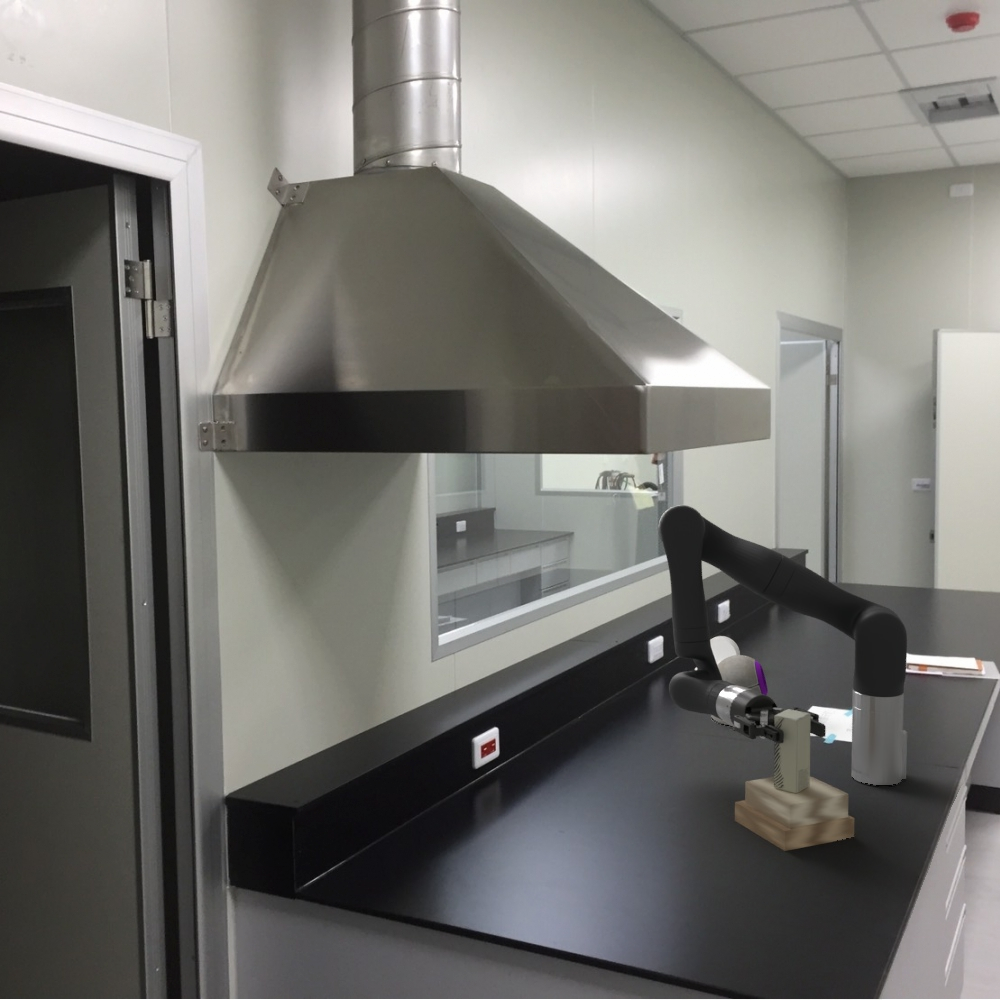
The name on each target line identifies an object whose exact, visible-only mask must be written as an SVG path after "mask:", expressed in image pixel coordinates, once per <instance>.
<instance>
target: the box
mask: <svg viewBox="0 0 1000 1000" xmlns="http://www.w3.org/2000/svg"><path fill="white" fill-rule="evenodd" d="M784 710H785V711H783V712H781V713H779V714H777V715H775V716H774V719H775V727H776V728H778V729H781V730H783V732H784V742H783V743H780V744H778V743H776V742H774V741H773V742H774V743H773V744H774V747H773V749H774V751H773V777H774V788H777V789H781V790H784V791H788V792H791V793H798V792H800V791H802V790H803V789H805V788H807V787H808V786H810V776H811V733H810V715H811V714H810V713H806V712H801V711H796V710H793V709H789V708H788V709H784Z"/></svg>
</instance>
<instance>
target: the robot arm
mask: <svg viewBox="0 0 1000 1000" xmlns="http://www.w3.org/2000/svg"><path fill="white" fill-rule="evenodd" d="M657 528H658V529H657V531H658V536H659V538H660V540H661V542H662V544H663V549H664V552H665V556H666V559H667V567H668V571H669V579H670V591H671V592H670V593H671V595H670V596H671V621H672V633H673V642H674V643H673V644H674V651H675V652H674V653H675V654H676V656H677V657H678V658H680V659H686V660H692V661H693V662H694V664H695V666H696V667H697V670H695V669H694V670H689V671H682V672H681V671H680V672H678V673H676V674H675V675H673V676H672V678H671V679H670V680H669V681H670V682H669V684H668V693H669V696H670V699H671V700H672V701H673V703H674V704H675V705H676V706H677V707H678V708H680V709H682V710H685V711H688V712H692V713H698V714H705V715H710V716H711V715H713V716H715V717H717V718H719V719H721V720H723V721H725V722H726V723H728V724H729V725H731V726H733V727H732V728H733V731H736V732H737V733H739V734H741V735H742V736H744V737H746V738H748V739H750V740H756V739H757V737H759V738H760V739H762V740H766V739H768V740H770V741H772V742H776V743H778V744H780V743H783V742H784V732H783V730H781V729H778V728H776V727H775V719H774V716H775V715H777V714H779V713H781V712H783V711H785V710H786V709H784V708H783V707H778V706H777V704H776V702H775V701H774V699H772V697H770V696H768V695H767V696H766V695H764V694H761V693H758V692H756V691H753V690H751V689H748V688H746V687H742V686H737V685H735V684H732V683H730V682H727V681H723V679H722V676H721V673H720V671H719V668H718V666H717V663H716V660H715V657H714V654H713V652H712V648H711V643H710V640H711V634H710V623H709V615H708V608H707V607H708V606H707V601H706V595H705V589H704V582H703V580H704V579H703V562H704V563H706V564H708V565H711V566H713V567H715V568H716V569H718V570H719V571H721V572H722V573H724V574H725V575H727V576H728V577H729V578H731V579H733V580H734V581H735V582H736V583H738V584H740V585H741V586H743V587H744V588H746V589H748V590H749V591H751V592H752V593H754V594H756V595H758V596H759V597H761V598H763V599H765V600H767V601H768V602H770V603H773V604H775V605H777V606H779V607H781V608H783V609H786V610H788V611H791V612H794V613H798V614H800V615H804V616H806V617H810V618H814V619H817V620H819V621H822V622H824V623H826V624H828V625H830V626H832V627H833V628H834V629H837V630H838V631H840V632H841V633H842V634H845V635H846V636H848V637H849V638H851V639H852V640H854V668H853V670H854V671H853V676H852V711H851V712H852V713H851V715H852V716H851V717H852V718H851V719H852V720H851V721H852V723H851V725H852V726H851V770H850V771H851V778H852V777H853V778H854V780H855V781H857V782H859V783H861V782H862V784H865V783H868V784H867V785H870V784H873V785H872V786H876V785H892V786H894V785H893V784H896V785H899V784H900V783H899V782H901V783H902V781H903V780H902V779H906V780H907V756H908V755H907V754H908V753H907V748H908V747H907V745H908V731H906V730H905V729H904V696H905V695H904V693H905V690H904V689H905V682H906V676H907V654H908V636H907V635H908V634H907V630H906V626H905V624H904V623H903V621H902V620H901V618H900V617H899V616H898V614H897V613H895V612H894V611H893V610H892V609H890V608H889V607H886V606H883V605H882V604H878V603H876V602H874V601H871V600H868V599H866V598H863V597H861V596H858V595H855V594H854V593H851V592H848V591H846V590H844V589H842V588H841V587H839V586H837V585H835V584H834V583H832V582H831V581H829V580H828V579H827V578H825V577H823V576H822V575H820V574H818V572H815V571H813V570H812V569H810V568H808V567H806V566H804V565H803V564H801V563H799V562H798V561H795V560H793V559H792V558H790V557H788V556H786V555H785V554H782V553H780V552H778V551H775V550H773V549H771V548H769V547H766V546H764V545H761V544H759V543H756V542H753V541H750V540H747V539H743V538H742V537H739V536H735V535H734V534H731V533H730V532H728V531H726V530H724V529H722V528H721V527H720V526H718V525H716V524H715V523H713V522H712V521H710V520H708V519H707V518H705V517H704V516H702V514H701V513H700V512H699V511H698V510H697V509H696V508H694V507H692V506H689V505H685V504H679V505H674V506H671V507H669V508H668V509H667V510H665V511H664V512H663V514H662V515H661V517H660V519H659V521H658V525H657ZM792 710H796V711H801V712H806V713H810V714H811V715H810V735H811V734H812V735H814V736H816V737H819V738H825V737H826V729H827V728H826V724H824V723H822V722H820V720H819V719H820V714H817V713H815V712H811V711H809V710H807V709H806V710H805V709H803V708H801V707H798V706H796V707H793V708H792ZM853 778H852V779H853ZM901 780H902V781H901ZM898 783H899V784H898Z"/></svg>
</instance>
